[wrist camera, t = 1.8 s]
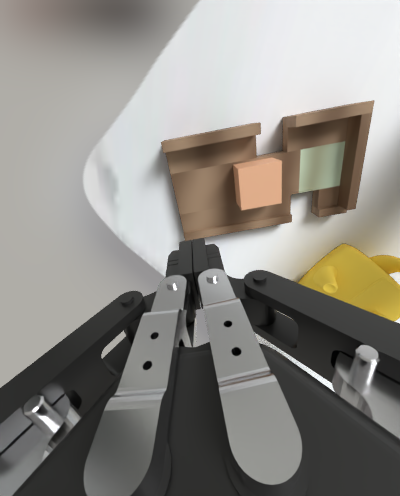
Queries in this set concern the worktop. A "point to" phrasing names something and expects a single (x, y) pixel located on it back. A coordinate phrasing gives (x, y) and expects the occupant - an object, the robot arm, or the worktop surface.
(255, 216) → the box
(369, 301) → the teapot
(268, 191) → the block
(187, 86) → the worktop surface
